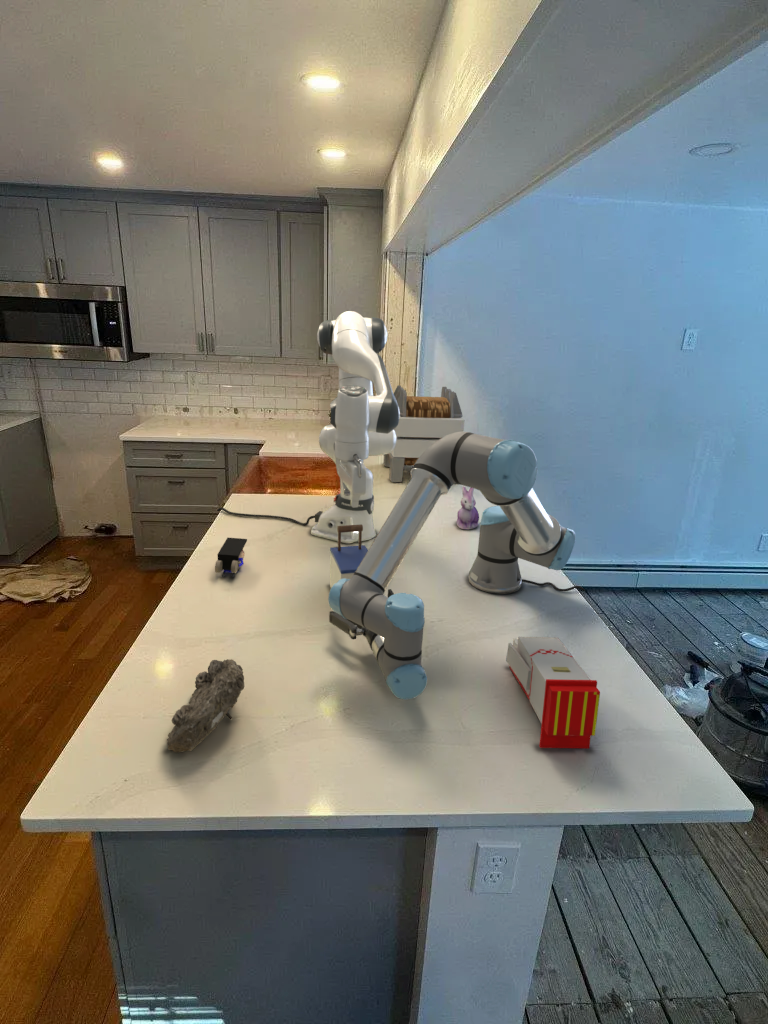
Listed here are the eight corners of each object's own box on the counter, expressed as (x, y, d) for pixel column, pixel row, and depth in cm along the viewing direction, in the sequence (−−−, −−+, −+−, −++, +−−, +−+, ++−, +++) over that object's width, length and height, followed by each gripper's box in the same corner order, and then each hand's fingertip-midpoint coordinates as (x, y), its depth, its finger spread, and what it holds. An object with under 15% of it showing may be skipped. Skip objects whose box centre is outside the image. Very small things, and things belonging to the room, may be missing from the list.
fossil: (192, 660, 117) (244, 628, 112) (224, 691, 120) (276, 661, 115) (142, 746, 98) (202, 712, 93) (182, 779, 101) (242, 748, 96)
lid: (329, 550, 158) (330, 523, 155) (364, 548, 160) (365, 520, 157) (340, 574, 144) (341, 544, 141) (378, 570, 147) (379, 541, 144)
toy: (554, 620, 129) (609, 687, 99) (549, 674, 131) (601, 755, 102) (501, 619, 128) (541, 686, 99) (497, 673, 131) (534, 754, 102)
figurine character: (238, 584, 162) (249, 557, 175) (236, 562, 158) (247, 536, 172) (215, 584, 161) (227, 556, 175) (212, 561, 158) (225, 535, 171)
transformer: (382, 463, 289) (386, 382, 275) (445, 464, 293) (451, 384, 279) (390, 482, 257) (394, 392, 243) (460, 483, 261) (468, 394, 247)
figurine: (464, 532, 204) (468, 492, 199) (449, 522, 212) (452, 484, 207) (486, 528, 208) (490, 489, 203) (469, 519, 216) (473, 481, 211)
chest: (329, 585, 161) (330, 551, 157) (363, 582, 163) (365, 549, 160) (340, 610, 148) (340, 574, 144) (376, 607, 150) (378, 570, 147)
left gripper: (373, 460, 138) (371, 513, 143) (354, 441, 157) (353, 488, 161) (348, 461, 137) (347, 514, 141) (332, 441, 155) (331, 489, 160)
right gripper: (330, 665, 120) (313, 615, 139) (440, 650, 127) (409, 604, 146) (330, 634, 117) (313, 588, 136) (442, 621, 124) (411, 578, 143)
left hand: (350, 500), depth 151 cm, fingers open, 8 cm apart
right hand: (363, 596), depth 141 cm, fingers open, 13 cm apart
